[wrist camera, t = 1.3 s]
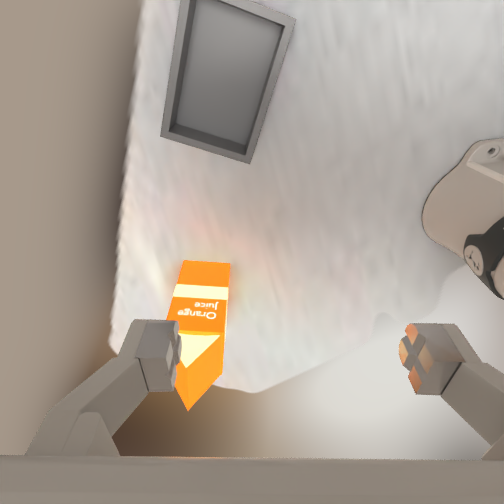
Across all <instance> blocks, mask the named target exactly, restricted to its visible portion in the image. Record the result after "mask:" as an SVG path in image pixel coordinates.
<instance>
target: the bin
mask: <svg viewBox="0 0 504 504" xmlns="http://www.w3.org/2000/svg"><path fill="white" fill-rule="evenodd" d="M295 22H296V19H295V18H293V17H290V16H288V15H285V14H283V13H280V12H278V11H275V10H273V9H270V8H268V7H265V6H263V5H260V4H258V3H255V2H253V1H250V0H181V1H180V8H179V15H178V21H177V28H176V35H175V41H174V48H173V55H172V61H171V68H170V75H169V81H168V88H167V95H166V101H165V108H164V115H163V121H162V128H161V135H160V137H164V138H167V139H170V140H173V141H176V142H180V143H183V144H186V145H189V146H193V147H196V148H199V149H202V150H206V151H209V152H212V153H215V154H219V155H222V156H225V157H228V158H231V159H235V160H238V161H241V162H244V163H248V164H250V162H251V159H252V156H253V153H254V150H255V147H256V144H257V140H258V137H259V134H260V131H261V128H262V125H263V122H264V119H265V115H266V112H267V109H268V106H269V103H270V100H271V97H272V94H273V90H274V87H275V84H276V81H277V78H278V75H279V72H280V68H281V65H282V62H283V59H284V56H285V53H286V50H287V47H288V43H289V40H290V37H291V34H292V31H293V28H294V25H295Z"/></svg>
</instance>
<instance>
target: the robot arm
mask: <svg viewBox="0 0 504 504" xmlns="http://www.w3.org/2000/svg"><path fill="white" fill-rule="evenodd" d="M491 148H492V150H491V151H490V152H488V151H489V149H491ZM422 220H423V227H424V230H425V232H426V234H427V235H428V236H429V237H430V238H431V239H432V240H433V241H434V242H436V243H438V244H440V245H442V246H444V247H446V248H448V249H449V250H451V251H452V252H454V253H455V254H457V255H458V256H460V257H461V258H462V259H463V260H465V261H466V263H467V264H468V266H469V267H470V268H471V270H472V271H473V272H474V273H475V274H476V276H477V277H478V278H479V279H480V280H481V281H482V282H483V283H484V284H485V285H486V286H487V287H488V288H489V289H490V290H491V291H492V292H493V293H494V294H495V295H496V296H497V297H499V298H501V299H503V300H504V138H500V139H491V140H482V141H479V142H476V143H475V144H474V145H473V146H472V147H471V148H470V149H469V150H468V152H467V153H466V154H465V156H464V157H463V159H462V160H461V162H460V163H459V165H458V166H457V167H455V168H454V169H453V170H452V171H451V172H450V173H448V174H447V175H446V176H445V177H444V178H443V179H442V180H441V181H440V182H439V183H438V184H437V185H436V186H435V188H434V189H433V190H432V192H431V193H430V195H429V197H428V199H427V201H426V203H425V206H424V210H423V216H422ZM179 328H180V327H179V322H178V321H176V320H151V319H149V320H146V319H135V320H134V321H133V322H132V323H131V325H130V328H129V330H128V333H127V335H126V337H125V340H124V342H123V345H122V347H121V350H120V352H119V354H118V357H117V358H113V359H111V360H110V361H108V362H107V363H106V364H105V365H104V366H102V367H101V368H100V369H99V370H97V371H96V372H95V373H94V374H93V375H91V376H90V377H89V378H88V379H86V380H85V381H84V382H83V383H82V384H80V385H79V386H78V387H77V388H75V389H74V390H73V391H72V392H71V393H69V394H68V395H67V396H66V397H64V398H63V399H62V400H61V401H60V402H58V403H57V404H56V405H55V406H53V407H52V408H51V409H50V410H49V411H48V413H47V414H46V416H45V418H44V420H43V422H42V424H41V426H40V428H39V429H38V431H37V433H36V435H35V437H34V439H33V440H32V442H31V444H30V446H29V448H28V450H27V452H26V453H25V455H0V504H504V374H503V373H501V372H500V371H498V370H497V369H495V368H494V367H492V366H491V365H489V364H488V363H482V361H481V360H480V358H479V357H478V356H477V354H476V352H475V351H474V350H473V348H472V347H471V345H470V344H469V343H468V341H467V340H466V338H465V337H464V335H463V334H462V332H461V331H460V329H459V328H458V327H457V326H456V325H455V324H437V323H433V324H432V323H410V324H409V325H408V326H407V327H406V330H405V332H406V334H407V336H405V337H404V338H402V339H401V341H400V344H399V355H400V359H401V362H402V364H403V366H404V367H406V368H407V369H408V370H409V371H410V373H409V375H408V378H409V380H410V382H411V384H412V386H413V389H414V391H415V393H416V394H421V395H441V397H442V398H443V399H444V400H445V401H446V402H447V403H448V404H449V405H450V406H451V407H452V408H453V409H454V410H455V411H456V412H457V413H458V414H459V415H460V416H461V417H462V418H463V419H464V420H465V421H466V422H468V424H469V425H471V427H473V428H474V429H475V430H476V431H477V432H478V433H479V434H480V435H481V436H482V437H483V438H484V439H485V440H486V441H487V442H488V443H489V444H490V445H491V447H490V448H489V449H488V450H487V451H486V452H485V453H484V455H483V456H482V458H481V459H482V460H407V459H406V460H405V459H321V458H318V459H317V458H313V459H312V458H228V457H227V458H226V457H221V458H220V457H136V456H120V455H119V452H118V450H117V448H116V446H115V444H114V442H113V440H112V438H111V436H112V435H113V434H114V433H115V432H116V431H117V429H118V428H119V427H120V426H121V425H122V424H123V422H124V421H125V420H126V419H127V418H128V416H129V415H130V414H131V413H132V412H133V411H134V409H135V408H136V407H137V406H138V405H139V403H141V401H142V400H143V399H144V398H145V397H146V395H147V394H148V392H151V391H152V392H159V391H173V390H174V386H175V381H176V377H177V370H176V366H177V365H178V364H179V363H180V359H181V352H182V339H181V336H180V335H179V334H178V332H179Z"/></svg>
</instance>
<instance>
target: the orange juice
mask: <svg viewBox="0 0 504 504" xmlns="http://www.w3.org/2000/svg"><path fill="white" fill-rule="evenodd" d="M229 276H230V263H217V262H203V261H188V260H184V261H183V265H182V268H181V272H180V275H179V278H178V282H177V284H176V287H175V291H174V294H173V299H172V302H171V305H170V309H169V312H168V316H167V319H166V320H176V321H178V322H179V327H180V328H179V332H178V334H179V335H180V336H181V339H182V352H181V359H180V363H179V364H178V365H177V366H176V370H177V377H176V381H175V387H176V389H177V391H178V393H179V395H180V396H181V398H182V400H183V402H184V404H185V406H186V408H187V410H189V408H190V407H191V406H192V405H193V404H194V403H195V402H196V401H197V400H198V399H199V398H200V397H201V395H202V394H203V393H204V392H205V391H206V390H207V389H208V388H209V386H211V385H212V383H213V382H214V381H215V380H216V379H217V378H218V377H219V376H220V375H222V370H223V353H224V341H225V337H226V335H225V334H226V333H225V332H226V318H227V306H228V291H229Z"/></svg>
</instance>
